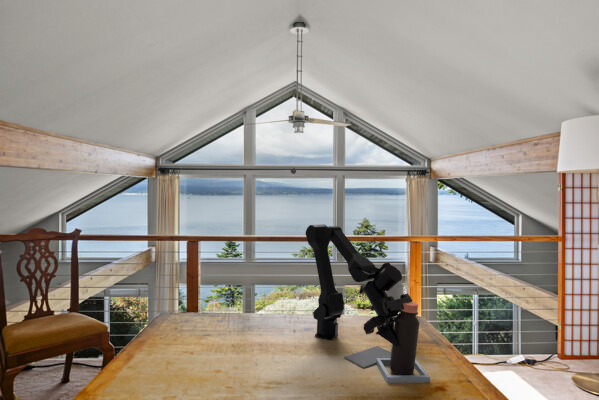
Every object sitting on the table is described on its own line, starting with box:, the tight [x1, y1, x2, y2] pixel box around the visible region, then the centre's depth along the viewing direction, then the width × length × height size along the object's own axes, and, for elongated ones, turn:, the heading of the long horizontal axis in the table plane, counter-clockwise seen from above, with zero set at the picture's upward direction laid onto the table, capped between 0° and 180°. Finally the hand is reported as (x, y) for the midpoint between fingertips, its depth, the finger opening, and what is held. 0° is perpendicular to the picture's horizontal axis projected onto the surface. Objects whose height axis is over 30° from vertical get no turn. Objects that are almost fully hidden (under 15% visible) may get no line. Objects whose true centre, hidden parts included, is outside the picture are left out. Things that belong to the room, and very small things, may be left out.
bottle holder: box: [375, 358, 431, 384], centre depth 122 cm, size 12×12×2 cm
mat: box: [343, 345, 392, 369], centre depth 131 cm, size 8×15×1 cm, turn 127°
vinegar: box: [389, 301, 420, 376], centre depth 122 cm, size 7×7×20 cm
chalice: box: [386, 281, 405, 326], centre depth 152 cm, size 7×7×18 cm
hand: (406, 347), depth 120 cm, fingers closed on vinegar, 4 cm apart
